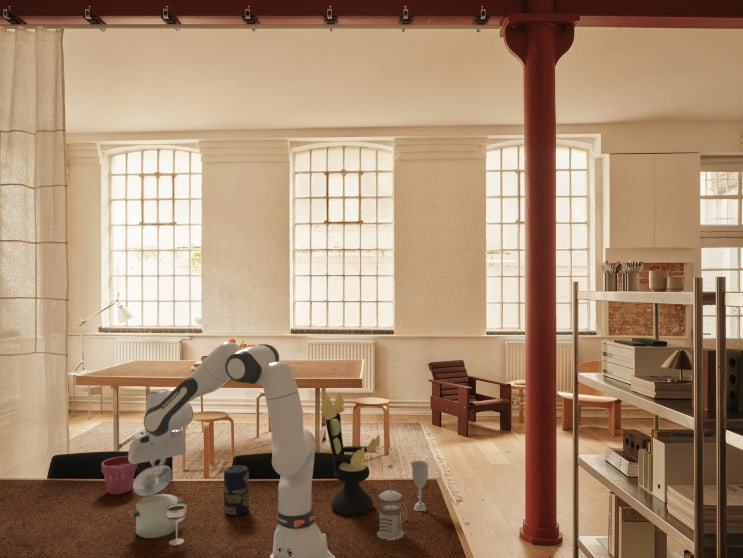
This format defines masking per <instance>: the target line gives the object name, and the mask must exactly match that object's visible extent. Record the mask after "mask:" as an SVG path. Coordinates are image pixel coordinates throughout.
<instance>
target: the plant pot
mask: <svg viewBox="0 0 743 558" xmlns="http://www.w3.org/2000/svg"><path fill="white" fill-rule="evenodd" d="M136 469H138V463H137V464H132V463H130V462H129V460H128V455H124V456H123V455H122V456H115V457H110V458H108V459H105V460H104V461H102V462H101V473H102V474H103V476H104V481H105V485H106V489H107V493H108V494H111V495H120V494H121V495H122V494H125V493H128V492H130V491H131V490H132V489H133V482H134V479H135V478H134V477H135V472H136Z"/></svg>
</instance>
